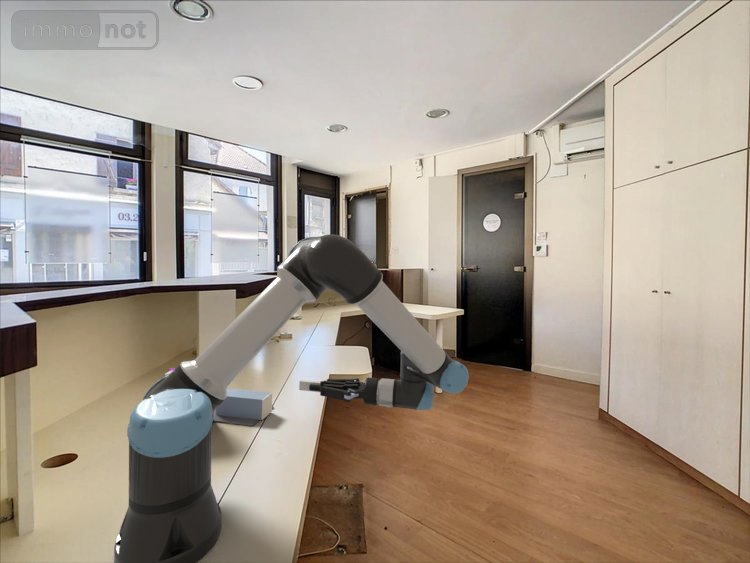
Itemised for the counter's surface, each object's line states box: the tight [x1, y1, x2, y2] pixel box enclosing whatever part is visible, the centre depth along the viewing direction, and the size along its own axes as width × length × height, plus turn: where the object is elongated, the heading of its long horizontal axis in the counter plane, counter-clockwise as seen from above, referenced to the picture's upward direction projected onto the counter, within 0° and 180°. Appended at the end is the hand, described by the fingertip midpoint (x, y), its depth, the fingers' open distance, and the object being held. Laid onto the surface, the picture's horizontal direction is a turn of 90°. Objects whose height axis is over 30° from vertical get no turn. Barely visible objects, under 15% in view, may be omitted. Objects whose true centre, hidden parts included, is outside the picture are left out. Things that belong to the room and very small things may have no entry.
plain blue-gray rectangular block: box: [216, 387, 273, 421], centre depth 103 cm, size 6×6×15 cm
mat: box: [212, 405, 274, 427], centre depth 104 cm, size 13×16×1 cm
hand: (300, 384), depth 100 cm, fingers closed
